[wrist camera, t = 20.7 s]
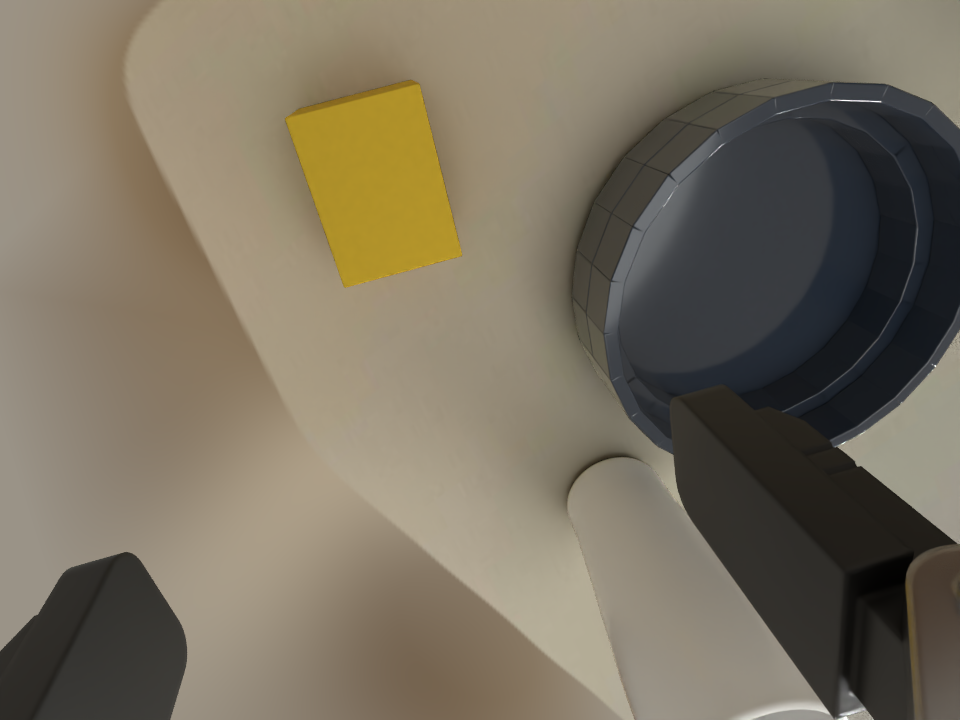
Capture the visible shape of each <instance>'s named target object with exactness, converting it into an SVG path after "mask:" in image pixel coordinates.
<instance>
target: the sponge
mask: <svg viewBox="0 0 960 720" xmlns="http://www.w3.org/2000/svg"><path fill="white" fill-rule="evenodd" d="M285 121H286V124H287V127H288V129H289V132H290V135H291V138H292V141H293V144H294V146H295V149H296V152H297V155H298V158H299V161H300V163H301V166H302V169H303V172H304V175H305V178H306V181H307V183H308V186H309V189H310V192H311V195H312V198H313V200H314V203H315V206H316V209H317V212H318V215H319V217H320V220H321V223H322V226H323V229H324V232H325V235H326V237H327V240H328V243H329V246H330V249H331V252H332V254H333V257H334V260H335V263H336V266H337V269H338V271H339V274H340V277H341V280H342V283H343V286H344V287H345V288H346V287H350V286H354V285H357V284H361V283H365V282H368V281H372V280H376V279H379V278H383V277H387V276H390V275H394V274H398V273H401V272H405V271H409V270H412V269H416V268H420V267H424V266H427V265H431V264H435V263H438V262H442V261H446V260H449V259H453V258H457V257H460V256H462V252H461V248H460V244H459V240H458V236H457V232H456V228H455V224H454V220H453V216H452V212H451V208H450V204H449V200H448V196H447V192H446V188H445V184H444V180H443V176H442V172H441V168H440V164H439V160H438V156H437V152H436V148H435V144H434V140H433V136H432V132H431V128H430V124H429V120H428V116H427V112H426V108H425V104H424V100H423V96H422V92H421V88H420V84H419V83H417V82H415V81H413V80H408V81H404V82H401V83H397V84H393V85H389V86H385V87H381V88H377V89H374V90H370V91H366V92H362V93H358V94H354V95H351V96H347V97H343V98H339V99H335V100H331V101H327V102H324V103H320V104H316V105H312V106H308V107H304V108H300V109H298V110H296V111H295V112H293V113H292V114H291V115H289V116H288V117H286V118H285Z"/></svg>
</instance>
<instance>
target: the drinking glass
mask: <svg viewBox="0 0 960 720" xmlns="http://www.w3.org/2000/svg"><path fill="white" fill-rule="evenodd" d="M567 511H568V516H569V519H570V522H571V524H572V526H573V529H574V531H575V533H576V536H577V538H578V541H579V545H580V548H581V551H582V554H583V557H584V560H585V564H586V567H587V570H588V573H589V577H590V580H591V583H592V586H593V590H594V593H595V596H596V600H597V603H598V606H599V609H600V613H601V616H602V620H603V623H604V626H605V630H606V633H607V636H608V640H609V643H610V646H611V650H612V653H613V656H614V660H615V663H616V666H617V669H618V673H619V676H620V679H621V682H622V685H623V688H624V691H625V694H626V697H627V700H628V703H629V705H630V708H631V711H632V714H633V716H634V719H635V720H834V719H833V717H832V716H831V714H830V713H829V712H828V710H827V709H826V707H825V706H824V705H823V703H822V702H821V700H820V699H819V698H818V696H817V695H816V694H815V692H814V691H813V689H812V688H811V687H810V685H809V684H808V682H807V681H806V680H805V678H804V677H803V675H802V674H801V673H800V671H799V670H798V668H797V667H796V666H795V664H794V663H793V661H792V660H791V659H790V657H789V656H788V655H787V653H786V652H785V650H784V649H783V648H782V646H781V645H780V643H779V642H778V641H777V639H776V638H775V636H774V635H773V634H772V632H771V631H770V629H769V628H768V627H767V625H766V624H765V623H764V621H763V620H762V618H761V617H760V616H759V614H758V613H757V611H756V610H755V609H754V607H753V606H752V604H751V603H750V602H749V600H748V599H747V597H746V596H745V595H744V593H743V592H742V590H741V589H740V588H739V586H738V585H737V584H736V582H735V581H734V579H733V578H732V577H731V575H730V574H729V572H728V571H727V570H726V568H725V567H724V565H723V564H722V563H721V561H720V560H719V558H718V557H717V556H716V554H715V553H714V551H713V550H712V549H711V547H710V546H709V545H708V543H707V542H706V540H705V539H704V538H703V536H702V535H701V533H700V532H699V531H698V529H697V528H696V526H695V525H694V524H693V522H692V521H691V519H690V518H689V516H688V514H687V512H686V510H685V509H684V508H683V507H682V506H681V504H680V503H679V502H678V501H677V500H676V498H675V497H674V496H673V495H672V494H671V492H670V491H669V490H668V488H667V487H666V485H665V484H664V483H663V481H662V480H661V478H660V477H659V475H658V474H657V473H656V472H655V471H654V470H653V469H652V468H651V467H650V466H649V465H647V464H646V463H644V462H642V461H640V460H637V459H634V458H628V457H616V458H610V459H606V460H603V461H600V462H598V463H596V464H594V465H592V466H591V467H589V468H588V469H586V470H585V471H584V472H583V473H582V474H581V475H580V476H579V477H578V478H577V479H576V481H575V482H574V484H573V485H572V487H571V490H570V492H569V495H568V500H567ZM836 720H849V719H848V717H847V716H846V717H842V718H839V719H836Z"/></svg>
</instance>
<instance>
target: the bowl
mask: <svg viewBox="0 0 960 720" xmlns="http://www.w3.org/2000/svg"><path fill="white" fill-rule="evenodd" d="M572 302H573V308H574V314H575V319H576V325H577V331H578V337H579V340H580V342H581V344H582V346H583V348H584V350H585V352H586V354H587V356H588V358H589V360H590V362H591V364H592V366H593V368H594V370H595V372H596V373H597V374H598V376H599V377H600V379H601V380H602V381H603V383H604V384H605V386H606V387H607V388H608V390H609V391H610V392H611V394H612V395H613V397H614V398H615V399H616V401H617V402H618V404H619V405H620V406H621V408H622V409H623V411H624V412H625V413H626V415H627V416H628V418H629V419H630V420H631V421H632V422H633V423H634V424H635V425H636V426H637V427H638V428H639V429H640V430H641V431H642V432H643V433H644V434H645V435H646V436H647V437H648V438H649V439H650V440H651V441H652V442H653V443H654V444H655V445H657V446H658V447H659V448H661V449H663V450H665V451H667V452H669V453H671V454H673V444H672V433H671V422H670V410H669V408H670V402H671V399H672V398H674V397H678V396H681V395H685V394H688V393H692V392H695V391H699V390H702V389H706V388H709V387H713V386H716V385H720V384H723V385H726V386H727V387H729V388H730V389H731V390H732V391H733V392H734V393H736V394H737V395H738V396H739V397H740V398H741V399H742V400H744V401H745V402H746V403H747V404H748V405H749V406H750V407H751V408H753V409H754V410H758V409H761V408H765V407H768V406H769V407H771V408H774V409H776V410H779V411H781V412H784V413H786V414H789V415H791V416H794V417H796V418H799V419H801V420H804V421H806V422H807V423H808V424H809V425H811V426H812V427H813V428H814V429H815V430H817V431H818V432H819V433H820V434H822V435H823V436H824V437H825V438H827V439H828V440H829V441H830V442H832V446H833V447H834V448H835V447H837V446H839V445H841V444H843V443H845V442H847V441H849V440H851V439H853V438H855V437H857V436H859V435H860V434H861V433H863V432H865V431H866V430H867V429H869V428H870V427H871V426H873V425H874V424H875V423H877V422H878V421H879V420H881V419H882V418H883V417H885V416H886V415H887V414H888V413H890V412H891V411H892V410H894V409H895V408H896V407H898V406H899V405H900V403H902V402H903V401H904V400H905V399H906V398H907V397H908V396H909V395H910V394H911V393H912V392H913V391H914V390H915V388H916V387H917V386H918V385H919V384H920V383H921V382H922V381H923V380H924V379H925V378H926V377H927V376H928V375H929V373H930V372H931V371H932V370H933V369H934V368H935V366H936V365H937V364H938V363H939V361H940V360H941V358H942V356H943V355H944V353H945V352H946V350H947V349H948V347H949V346H950V344H951V343H952V341H953V339H954V338H955V336H956V335H957V333H958V332H959V330H960V129H959V128H958V127H957V126H956V125H955V124H954V123H953V122H952V121H951V120H950V119H949V118H948V117H947V116H946V115H945V114H944V113H943V112H942V111H941V110H940V109H939V108H938V107H937V106H936V105H935V104H933V103H932V102H930V101H927V100H925V99H922V98H920V97H918V96H915V95H913V94H910V93H908V92H905V91H903V90H901V89H898V88H896V87H893V86H891V85H888V84H879V83H858V82H838V81H817V80H793V79H768V78H764V79H758V80H754V81H750V82H746V83H742V84H739V85H735V86H731V87H727V88H723V89H720V90H716V91H713V92H712V93H709V94H707V95H705V96H704V97H702V98H700V99H698V100H697V101H695V102H693V103H691V104H690V105H688V106H686V107H684V108H683V109H681V110H679V111H677V112H676V113H674V114H672V115H670V116H669V117H667V118H666V119H664V120H662V121H661V122H660V123H659V124H658V125H657V126H656V127H655V128H654V129H653V130H652V131H651V132H650V133H649V134H648V135H647V136H646V137H644V138H643V139H642V140H641V141H640V142H639V143H638V144H637V145H636V146H635V147H634V148H633V149H632V150H631V151H630V152H629V153H628V154H626V155H625V158H623V159H622V161H621V162H620V164H619V165H618V167H617V168H616V170H615V171H614V173H613V174H612V176H611V177H610V179H609V180H608V182H607V183H606V185H605V186H604V188H603V189H602V191H601V192H600V194H599V195H598V197H597V198H596V200H595V203H594V204H593V207H592V209H591V212H590V215H589V217H588V220H587V223H586V226H585V228H584V231H583V234H582V236H581V239H580V242H579V245H578V247H577V252H576V260H575V270H574V279H573V289H572ZM673 455H674V454H673Z"/></svg>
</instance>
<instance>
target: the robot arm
mask: <svg viewBox="0 0 960 720" xmlns="http://www.w3.org/2000/svg"><path fill="white" fill-rule="evenodd" d="M669 410H670V422H671V433H672V444H673V454H674V465H675V475H676V483H677V488H678V492H679V495H680V498H681V501H682V503H683V506H684V508H685V510H686V512H687V514H688V516H689V518H690V519H691V521H692V522H693V524H694V525H695V526H696V528H697V529H698V531H699V532H700V533H701V535H702V536H703V538H704V539H705V540H706V542H707V543H708V545H709V546H710V547H711V549H712V550H713V551H714V553H715V554H716V556H717V557H718V558H719V560H720V561H721V563H722V564H723V565H724V567H725V568H726V570H727V571H728V572H729V574H730V575H731V577H732V578H733V579H734V581H735V582H736V584H737V585H738V586H739V588H740V589H741V590H742V592H743V593H744V595H745V596H746V597H747V599H748V600H749V602H750V603H751V604H752V606H753V607H754V609H755V610H756V611H757V613H758V614H759V616H760V617H761V618H762V620H763V621H764V623H765V624H766V625H767V627H768V628H769V629H770V631H771V632H772V634H773V635H774V636H775V638H776V639H777V641H778V642H779V643H780V645H781V646H782V648H783V649H784V650H785V652H786V653H787V655H788V656H789V657H790V659H791V660H792V661H793V663H794V664H795V666H796V667H797V668H798V670H799V671H800V673H801V674H802V675H803V677H804V678H805V680H806V681H807V682H808V684H809V685H810V687H811V688H812V689H813V691H814V692H815V694H816V695H817V696H818V698H819V699H820V700H821V702H822V703H823V705H824V706H825V707H826V709H827V710H828V712H829V713H830V714H831V716H832V717H833V719H834V720H836V719H839V718H842V717H846V716H849V715H852V714H855V713H858V712H861V711H864V710H867V711H868V712H869V713H870V715H871V716H872V717H873V719H874V720H960V544H957V543H956V542H955V541H953V540H952V539H951V538H950V537H948V536H947V535H946V534H945V533H943V532H942V531H941V530H940V529H938V528H937V527H936V526H935V525H933V524H932V523H931V522H930V521H928V520H927V519H926V518H925V517H923V516H922V515H921V514H920V513H919V512H917V511H916V510H915V509H914V508H912V507H911V506H910V505H909V504H907V503H906V502H905V501H904V500H902V499H901V498H900V497H899V496H897V495H896V494H895V493H894V492H892V491H891V490H890V489H889V488H887V487H886V486H885V485H884V484H883V483H881V482H880V481H879V480H878V479H876V478H875V477H874V476H873V475H871V474H870V473H869V472H868V471H866V470H865V469H864V468H863V467H861V466H860V467H857V466H856V464H855V461H854V460H853V459H851V458H850V457H849V456H848V455H847V454H845V453H844V452H843V451H842V450H840V449H839V448H838V447H836V448H834V447H833V446H832V442H830V441H829V440H828V439H827V438H825V437H824V436H823V435H822V434H820V433H819V432H818V431H817V430H815V429H814V428H813V427H812V426H811V425H809V424H808V423H807V422H806V421H804V420H801V419H799V418H796V417H794V416H791V415H789V414H786V413H784V412H781V411H779V410H776V409H774V408H771V407H769V406H768V407H765V408H761V409H758V410H754V409H753V408H751V407H750V406H749V405H748V404H747V403H746V402H745V401H744V400H742V399H741V398H740V397H739V396H738V395H737V394H736V393H734V392H733V391H732V390H731V389H730V388H729V387H727V386H726V385H723V384H720V385H716V386H713V387H709V388H706V389H702V390H699V391H695V392H692V393H688V394H685V395H681V396H678V397H674V398H672V399H671V402H670V408H669ZM186 662H187V645H186V638H185V634H184V630H183V628H182V625H181V624H180V622H179V620H178V618H177V617H176V615H175V614H174V612H173V611H172V609H171V608H170V606H169V604H168V603H167V601H166V600H165V598H164V597H163V595H162V594H161V592H160V590H159V589H158V587H157V586H156V584H155V583H154V581H153V579H152V578H151V576H150V575H149V573H148V572H147V570H146V569H145V567H144V565H143V564H142V562H141V561H140V560H139V559H138V558H137V557H136V556H135V555H133V554H132V553H128V552H124V553H121V554H117V555H114V556H110V557H107V558H103V559H99V560H96V561H92V562H89V563H85V564H82V565H79V566H75V567H71V568H70V569H68V570H66V571H65V572H64V573H63V575H62V576H61V577H60V579H59V580H58V582H57V584H56V585H55V587H54V589H53V590H52V592H51V594H50V596H49V597H48V599H47V600H46V602H45V604H44V605H43V607H42V609H41V611H40V612H39V614H38V615H36V616H34V617H33V618H32V619H31V620H30V621H29V622H28V623H27V624H26V625H25V626H24V627H23V628H22V629H21V631H19V632H18V633H17V635H16V636H15V637H14V638H13V639H12V640H11V641H10V642H9V643H8V644H7V645H6V646H5V647H4V648H3V649H2V650H1V651H0V720H170V718H171V715H172V712H173V708H174V705H175V702H176V698H177V695H178V692H179V688H180V685H181V681H182V678H183V675H184V671H185V668H186Z"/></svg>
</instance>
